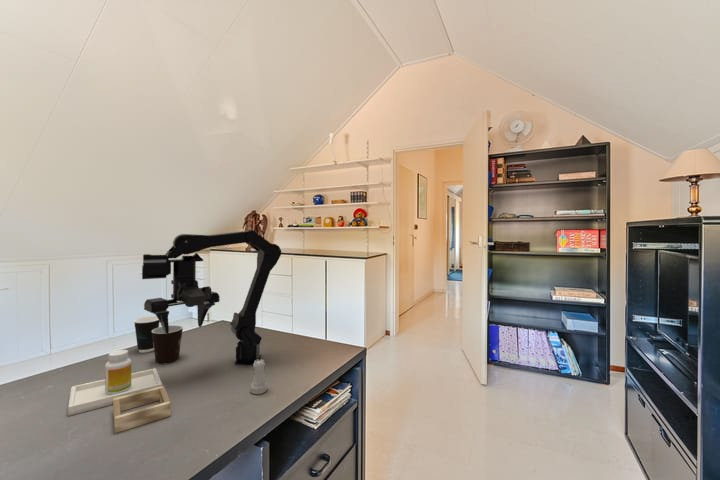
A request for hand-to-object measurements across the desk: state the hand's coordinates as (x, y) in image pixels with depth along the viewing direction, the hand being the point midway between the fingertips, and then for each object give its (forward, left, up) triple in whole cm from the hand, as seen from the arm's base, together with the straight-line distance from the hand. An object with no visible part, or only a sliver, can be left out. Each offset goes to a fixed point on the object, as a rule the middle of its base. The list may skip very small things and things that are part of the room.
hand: (184, 330), depth 92 cm
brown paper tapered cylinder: (+11, -11, -13) cm, 20 cm away
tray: (+10, +11, -13) cm, 20 cm away
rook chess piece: (-25, +8, -13) cm, 29 cm away
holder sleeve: (-2, +20, -13) cm, 24 cm away
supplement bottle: (+10, +11, -12) cm, 20 cm away
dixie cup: (+23, -17, -13) cm, 32 cm away
